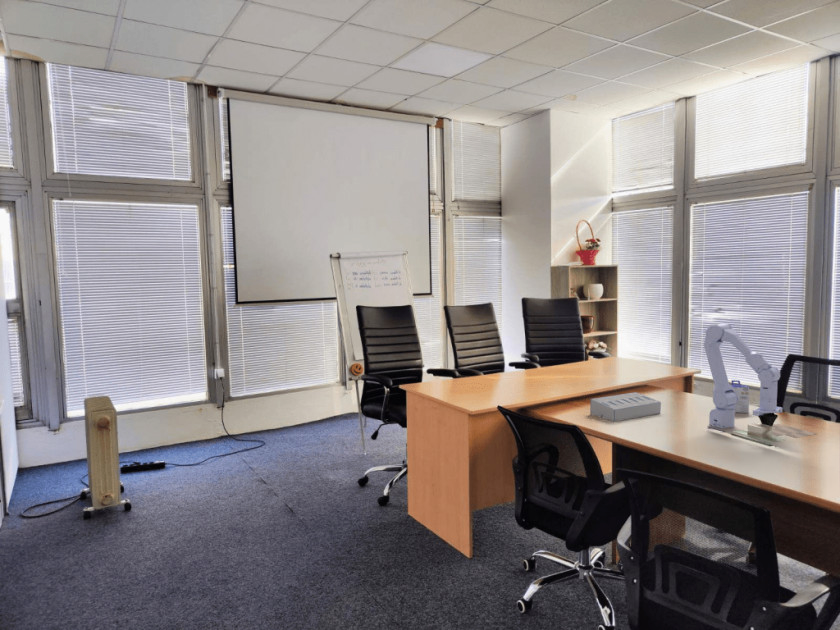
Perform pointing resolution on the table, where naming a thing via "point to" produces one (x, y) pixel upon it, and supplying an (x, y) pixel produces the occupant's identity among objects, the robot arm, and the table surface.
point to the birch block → (759, 430)
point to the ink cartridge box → (741, 397)
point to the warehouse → (624, 406)
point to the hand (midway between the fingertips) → (766, 431)
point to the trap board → (776, 434)
